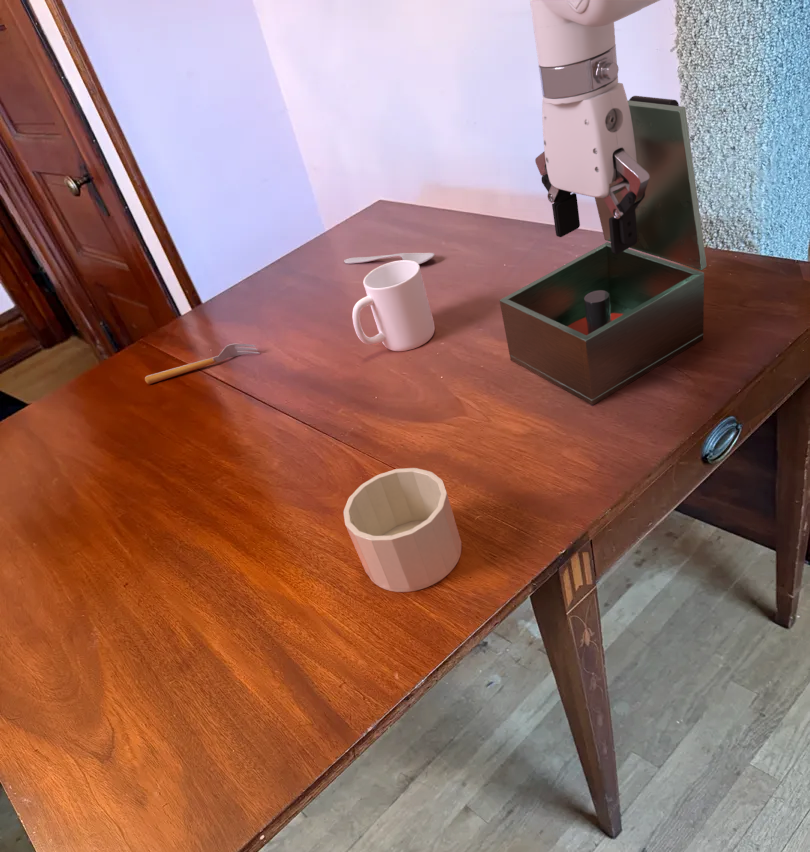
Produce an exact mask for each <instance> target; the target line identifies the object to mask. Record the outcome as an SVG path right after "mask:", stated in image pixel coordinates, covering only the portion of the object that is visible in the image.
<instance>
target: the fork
mask: <svg viewBox="0 0 810 852" xmlns="http://www.w3.org/2000/svg"><path fill="white" fill-rule="evenodd" d="M256 347H257V345H256V344H249V343H234V342H233V343H230V344H227V345H226V346H225V347H224V348H223V349H222V351H220V353H219V355H216V356H212V357H209V358H205V359H202V360H198V361H195V362H190V363H187V364H184V365H180V366H177V367H173V368H170V369H166V370H163V371H159V372H154V373H152V374H148V375H146V376H145V377H144V381H145V383H146V384H148V385H152V384H155V383H158V382H162V381H164V380H168V379H170V378H174V377H176V376H181V375H183V374H186V373H189V372H192V371H195V370H198V369H201V368H204V367H207V366H210V365H213V364H216V363H219V362H222V361H225V360H227V359H229V358H235V357H239V356H243V355H252V354H253V355H254V354H256V355H260V354H261V352H258V351H259V348H256Z"/></svg>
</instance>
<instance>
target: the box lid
mask: <svg viewBox="0 0 810 852" xmlns="http://www.w3.org/2000/svg"><path fill="white" fill-rule="evenodd" d="M627 101H628V105H629V109H630V114H631V120H632V126H633V133H634V140H635V149H636V159H637V163H638V164H639V165H640V166H641V167H642V168H643V169H644V170H646V171H647V172H648V174H649V181H648V184H647V187H646V190H645V197H644V198H643V200H642V201H641V202H640V206H639V208H638V209H636V210H635V212H636V228H637V243H636V244H635V245H633V246H632V247H630V248H629V249H631V250H634V251H637V252H640V253H644V254H647V255H650V256H653V257H656V258H660V259H663V260H666V261H669V262H672V263H675V264H679V265H682V266H685V267H688V268H691V269H695V270H698V271H703V270H704V269H706V268H707V258H706V251H705V244H704V235H703V229H702V228H703V227H702V222H701V221H702V220H701V214H700V206H699V198H698V190H697V185H696V184H697V183H696V176H695V170H694V169H695V168H694V162H693V155H692V147H691V146H692V145H691V140H690V131H689V125H688V124H689V123H688V116H687V109H686V106H682V105H681V106H680V104H679V102H678V100H676V99H672V98H671V99H670V98H663V97H662V98H661V97H652V96H643V95H633V96H631V97H630V98H629V99H627ZM616 184H617V183H615V182H612V183H611V184H609V188H610V187H612V186H614V185H616ZM614 195H615V197H616V198H617V200H618V202H619V203H620V202H621V201H622V199H623V196H622V195H621V193H620V192H618V193H616V194H614ZM594 201H595V205H596V209H597V213H598V218H599V222H600V225H601V230H602V234H603V235H602V236H603V238H604V241H606V242H609V243H611V240H610V228H609V218H611V217H613V215H612V213H611V211H610V210H609V208H608V206H607V205H606V203H605V201H604V199H603V198H595V197H594Z"/></svg>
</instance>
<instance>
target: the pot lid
mask: <svg viewBox="0 0 810 852" xmlns="http://www.w3.org/2000/svg"><path fill="white" fill-rule="evenodd" d="M584 302H585V312H586V317H585V318H583V319H580V320H578V321H575V322H574V323H572V324H570V325H569V326H567V327H569V328H571V329H573V330H576V331H578V332H580V333H582V334H584V335H588V334H590V333H592V332H593V331H595V330H597V329H599V328H600V327H602V326H604V325H606V324H607V323H609V322H611V321H613V320H615V319H616V318H618V317H620V316H622V315H623V314H619V313H611V311H610V298H609V293H608V292H607V291H603V290H598V291H593V292H590V293H588V294H587V295H586V296H585V297H584Z"/></svg>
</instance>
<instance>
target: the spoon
mask: <svg viewBox="0 0 810 852" xmlns="http://www.w3.org/2000/svg"><path fill="white" fill-rule="evenodd" d="M395 257H400V258H401V259H402V260H411V261H415V262H417V263H418V264H419V265H421V264H424V263H426V262H428V261H429V260H431V259H432V258H434V257H435V252H399V253H393V254H392V253H391V254H383V255H374V256H373V255H371V256H359V257H358V256H356V257H355V256H354V257H349V258H346V259H344V260H343V263H345V264H347V265H348V264H349V265H350V264H360V263H362V264H363V263H368V262H372V261H373V262H374V261H377V260H381V259H388V258H389V259H390V258H395Z"/></svg>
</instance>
